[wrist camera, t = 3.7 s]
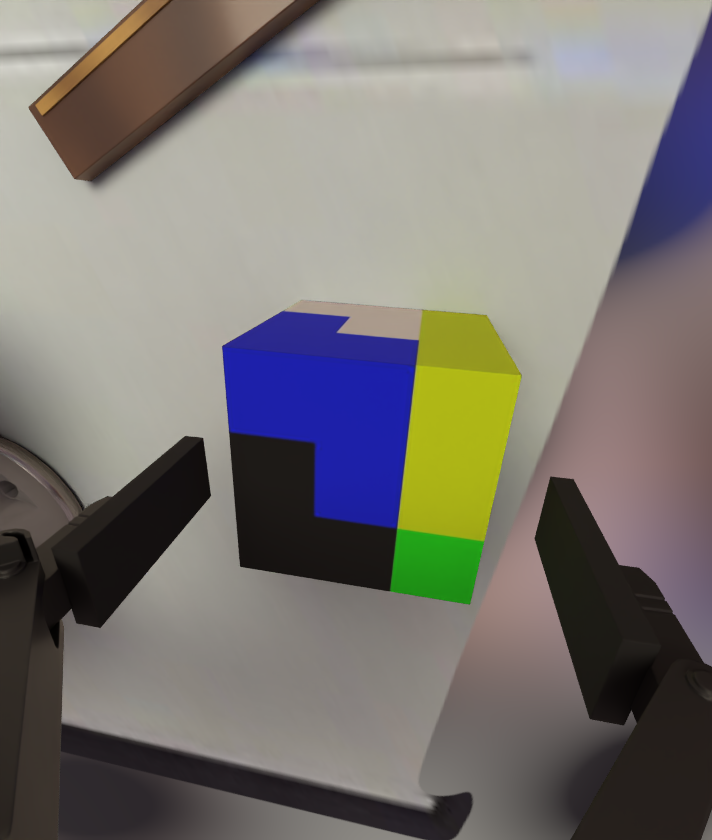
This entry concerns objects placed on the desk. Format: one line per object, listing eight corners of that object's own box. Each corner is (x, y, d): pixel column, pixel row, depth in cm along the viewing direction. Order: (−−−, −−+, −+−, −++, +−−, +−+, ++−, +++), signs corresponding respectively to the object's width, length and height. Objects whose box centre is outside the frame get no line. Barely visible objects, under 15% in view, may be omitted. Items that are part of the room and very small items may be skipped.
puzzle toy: (301, 300, 24) (222, 346, 15) (486, 315, 23) (521, 375, 14) (301, 456, 28) (240, 566, 19) (457, 476, 27) (469, 604, 18)
